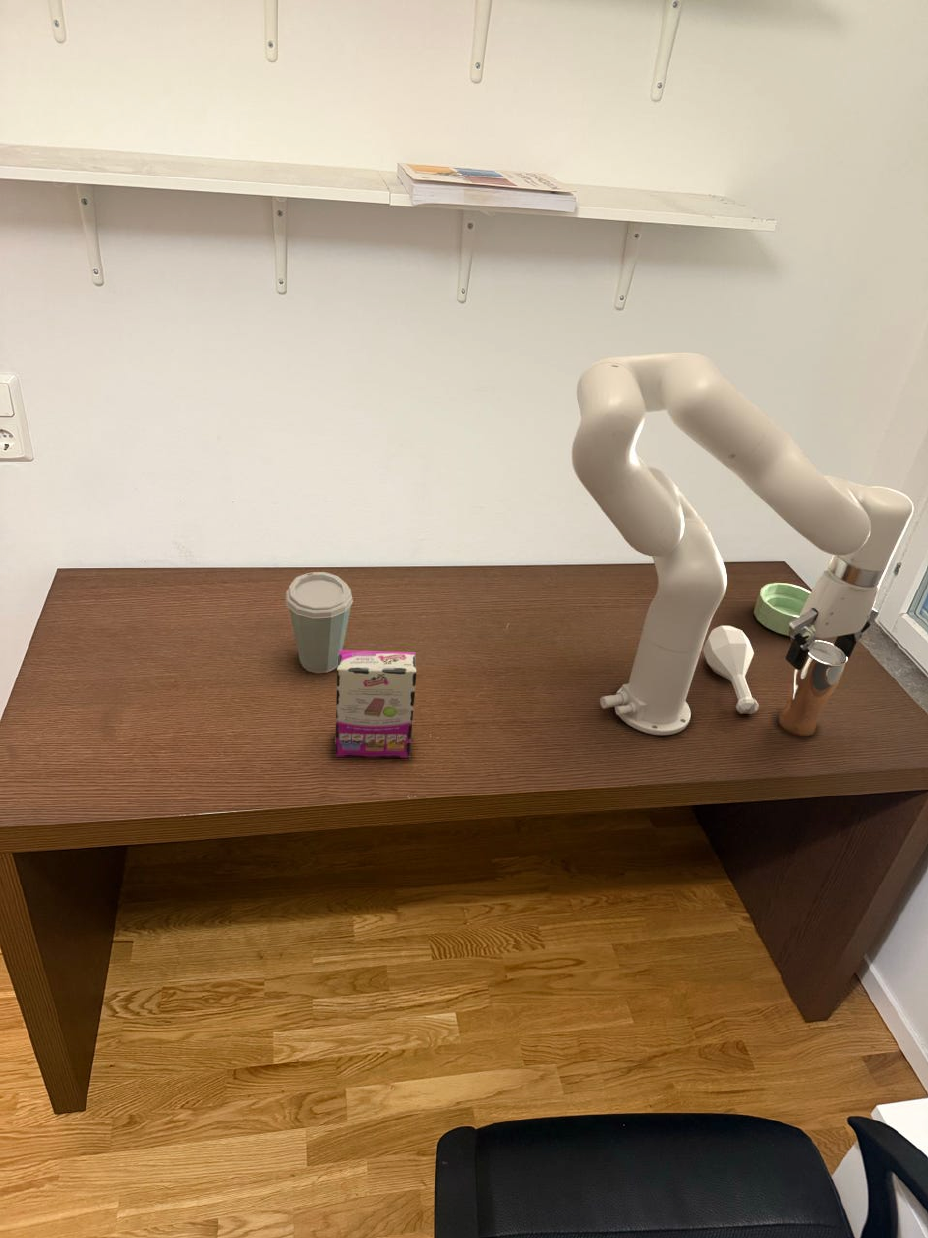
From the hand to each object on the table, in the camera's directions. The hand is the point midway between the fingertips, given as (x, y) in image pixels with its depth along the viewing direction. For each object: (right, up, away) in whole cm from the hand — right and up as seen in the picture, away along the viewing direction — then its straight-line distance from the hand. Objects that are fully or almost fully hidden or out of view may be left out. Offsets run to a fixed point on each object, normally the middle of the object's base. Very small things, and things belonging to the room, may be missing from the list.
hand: (816, 660), depth 144 cm
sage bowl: (+7, +6, +34) cm, 36 cm away
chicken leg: (-9, -5, +15) cm, 18 cm away
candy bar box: (-70, -13, -8) cm, 71 cm away
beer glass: (0, -11, +8) cm, 14 cm away
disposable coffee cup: (-80, -1, +7) cm, 81 cm away
